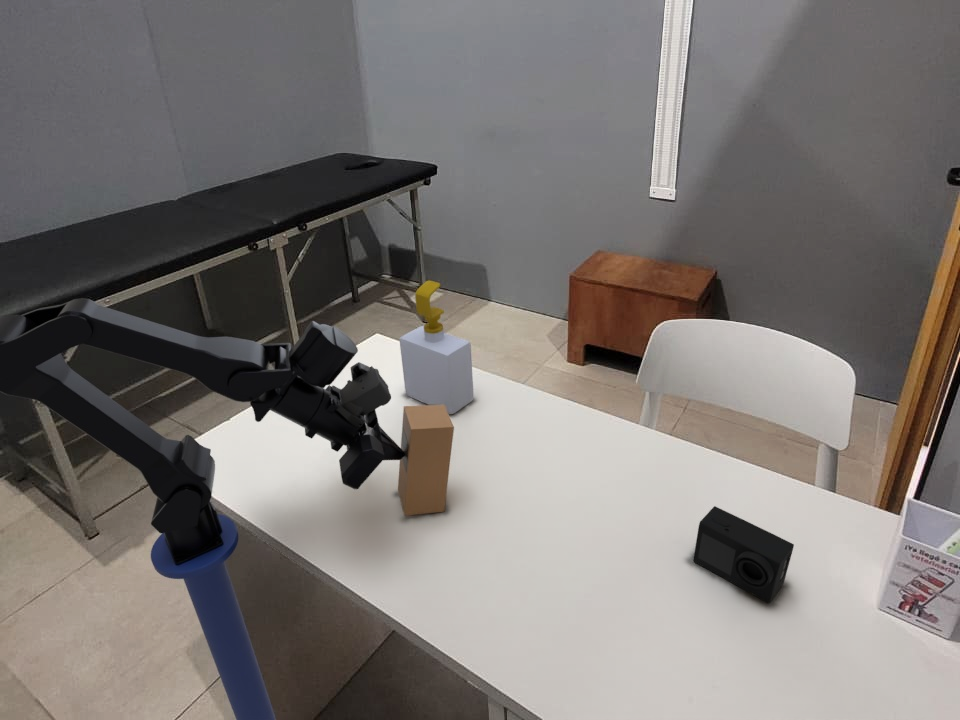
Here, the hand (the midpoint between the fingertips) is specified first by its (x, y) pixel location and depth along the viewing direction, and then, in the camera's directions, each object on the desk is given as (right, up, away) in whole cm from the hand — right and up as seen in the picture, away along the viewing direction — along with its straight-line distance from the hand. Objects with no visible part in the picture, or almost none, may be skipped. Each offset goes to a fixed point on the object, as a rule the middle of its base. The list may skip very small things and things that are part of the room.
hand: (402, 456), depth 93 cm
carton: (+2, -7, +5) cm, 9 cm away
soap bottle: (+3, +6, +30) cm, 31 cm away
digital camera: (+44, -14, -9) cm, 47 cm away
